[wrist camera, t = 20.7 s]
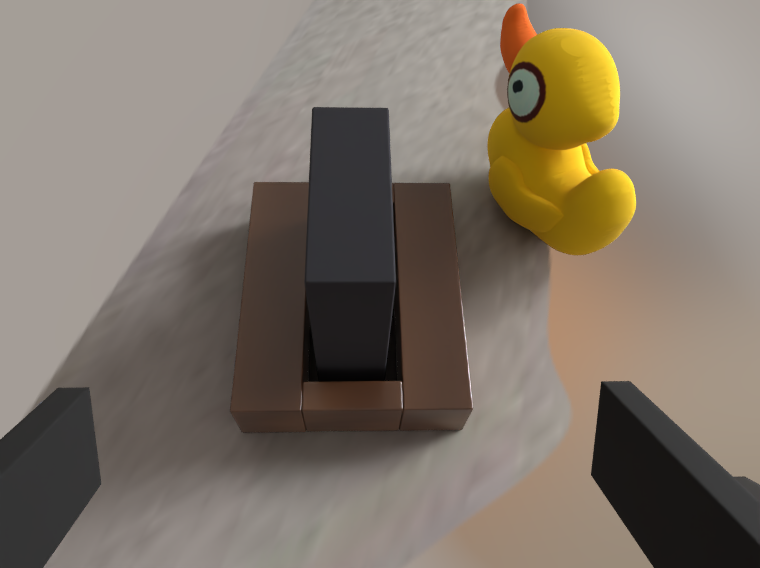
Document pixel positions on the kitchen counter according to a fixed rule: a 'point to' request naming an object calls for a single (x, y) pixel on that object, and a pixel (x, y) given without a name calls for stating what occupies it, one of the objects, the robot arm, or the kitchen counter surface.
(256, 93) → the kitchen counter surface
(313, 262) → the dark grey rectangular block
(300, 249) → the seat base
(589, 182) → the duckling
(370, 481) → the kitchen counter surface
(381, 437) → the kitchen counter surface
